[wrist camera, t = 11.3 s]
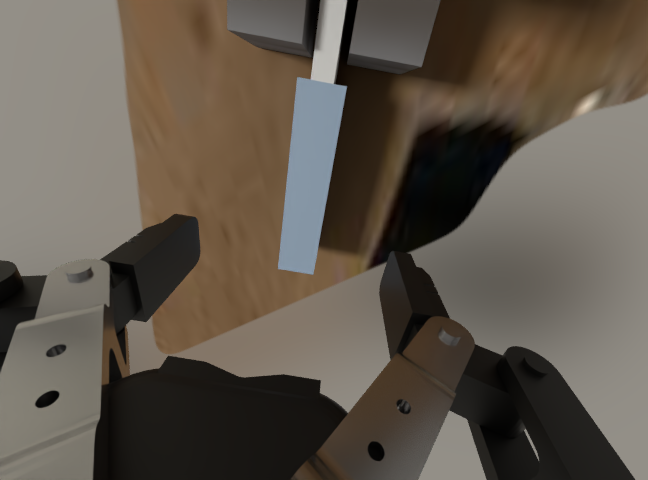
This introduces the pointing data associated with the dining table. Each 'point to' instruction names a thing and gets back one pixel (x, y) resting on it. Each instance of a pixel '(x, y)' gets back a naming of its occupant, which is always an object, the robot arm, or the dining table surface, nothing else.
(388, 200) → the dining table surface
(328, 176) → the blue and white bar
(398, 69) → the brown and grey stand
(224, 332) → the dining table surface
